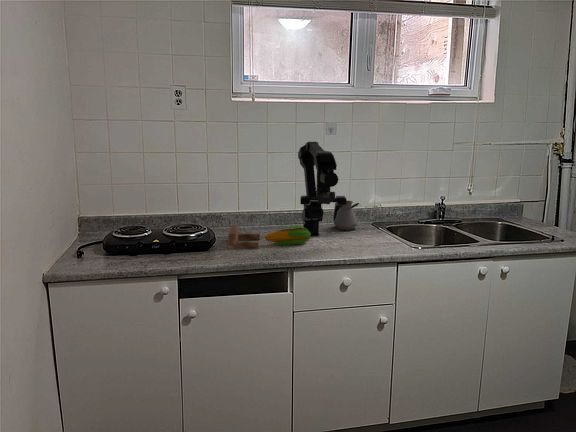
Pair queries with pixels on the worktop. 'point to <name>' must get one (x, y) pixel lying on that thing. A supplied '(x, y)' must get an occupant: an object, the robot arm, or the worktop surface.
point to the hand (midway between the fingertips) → (322, 220)
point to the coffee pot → (346, 217)
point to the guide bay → (236, 236)
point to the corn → (289, 236)
